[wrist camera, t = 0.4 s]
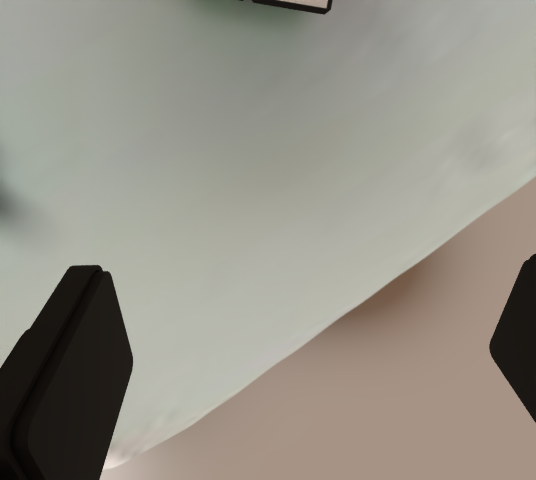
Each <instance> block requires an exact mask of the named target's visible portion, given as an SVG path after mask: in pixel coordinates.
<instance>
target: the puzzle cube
mask: <svg viewBox="0 0 536 480" xmlns="http://www.w3.org/2000/svg"><path fill="white" fill-rule="evenodd" d="M240 1H243V0H240ZM252 1H253V3H258V4H264V5H270V6H276V7H282V8H288V9H294V10H300V11H306V12H312V13H318V14H324V15H325V14H326V13H327V12H328V11H329V10H331V5H332V0H252Z"/></svg>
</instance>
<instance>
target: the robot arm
mask: <svg viewBox="0 0 536 480" xmlns="http://www.w3.org/2000/svg"><path fill="white" fill-rule="evenodd" d="M489 348H490V353H491V356H492V358H493V359H494V361H495V363H496V364H497V366H498V367H499V368H500V370H501V371H502V373H503V375H504V376H505V378H506V379H507V381H508V382H509V384H510V385H511V386H512V388H513V389H514V391H515V392H516V394H517V395H518V397H519V398H520V400H521V401H522V403H523V404H524V406H525V407H526V409H527V410H528V412H529V413H530V415H531V416H532V418H533V419H534V421H535V422H536V254H534V255H532V256H531V257H530V259H529V260H526V261H525V262H524V264H523V265H522V267H521V270H520V272H519V275H518V277H517V279H516V281H515V284H514V286H513V289H512V291H511V293H510V296H509V298H508V301H507V303H506V305H505V308H504V310H503V312H502V315H501V317H500V320H499V322H498V324H497V327H496V329H495V332H494V334H493V336H492V339H491V341H490V346H489ZM132 367H133V356H132V352H131V348H130V344H129V340H128V336H127V333H126V329H125V325H124V321H123V318H122V314H121V310H120V306H119V302H118V299H117V295H116V291H115V287H114V284H113V280H112V276H111V274H110V272H108V271H103V270H102V268H101V267H100V266H99V265H81V266H71V267H69V269H68V270H67V271H66V273H65V274H64V276H63V278H62V279H61V281H60V282H59V284H58V285H57V287H56V289H55V290H54V292H53V293H52V295H51V296H50V298H49V299H48V301H47V303H46V304H45V306H44V307H43V309H42V310H41V312H40V314H39V315H38V317H37V318H36V320H35V321H34V323H33V325H32V326H31V328H30V329H28V330H26V331H25V332H24V334H23V335H22V336H21V337H20V339H19V340H18V342H17V343H16V345H15V346H14V348H13V350H12V351H11V353H10V354H9V356H8V357H7V359H6V360H5V362H4V363H3V365H2V366H1V368H0V480H99V479H100V475H101V472H102V469H103V466H104V462H105V459H106V456H107V452H108V449H109V446H110V442H111V439H112V436H113V432H114V429H115V426H116V422H117V419H118V416H119V412H120V409H121V406H122V402H123V399H124V396H125V392H126V389H127V386H128V382H129V379H130V376H131V372H132Z"/></svg>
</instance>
